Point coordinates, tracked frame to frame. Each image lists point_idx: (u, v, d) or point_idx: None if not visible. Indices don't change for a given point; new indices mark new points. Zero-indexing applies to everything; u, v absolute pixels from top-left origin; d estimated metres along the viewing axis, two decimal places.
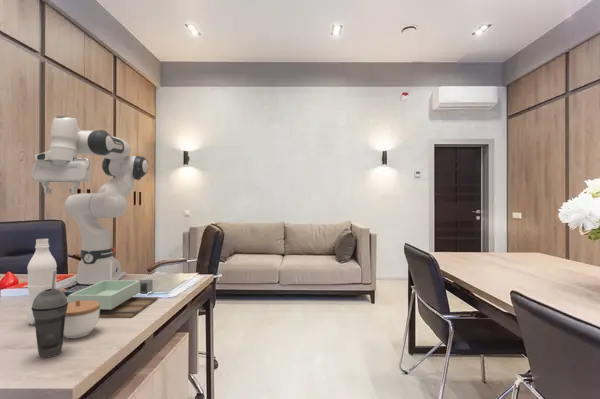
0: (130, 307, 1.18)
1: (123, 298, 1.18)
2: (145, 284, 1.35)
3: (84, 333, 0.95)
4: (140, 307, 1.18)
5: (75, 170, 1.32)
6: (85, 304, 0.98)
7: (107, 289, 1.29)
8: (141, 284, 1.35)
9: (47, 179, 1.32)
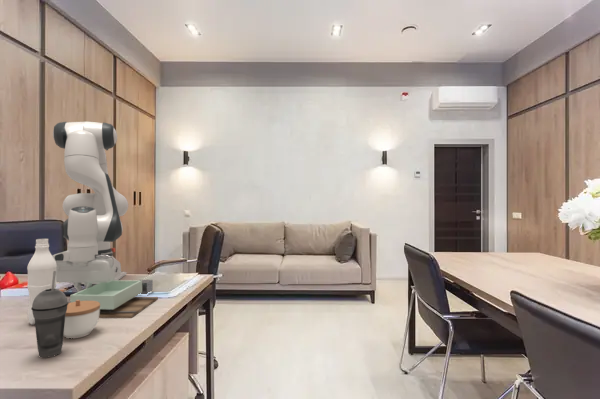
0: (130, 307, 1.18)
1: (125, 298, 1.18)
2: (145, 284, 1.35)
3: (84, 333, 0.95)
4: (140, 307, 1.18)
5: (99, 271, 1.18)
6: (85, 304, 0.98)
7: (109, 289, 1.29)
8: None
9: (68, 281, 1.18)
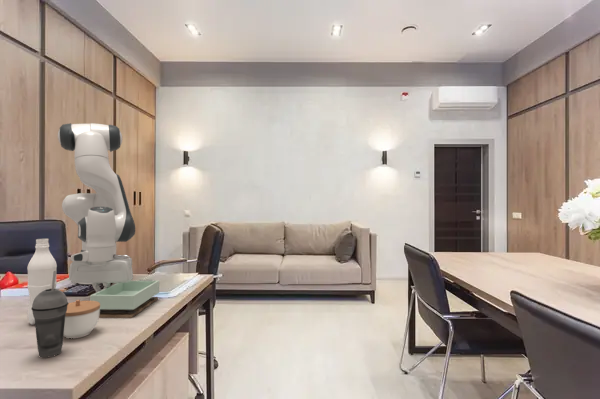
0: None
1: (144, 298, 1.18)
2: None
3: (84, 333, 0.95)
4: (140, 307, 1.18)
5: (117, 271, 1.18)
6: (85, 304, 0.98)
7: (126, 289, 1.29)
8: None
9: (86, 281, 1.18)
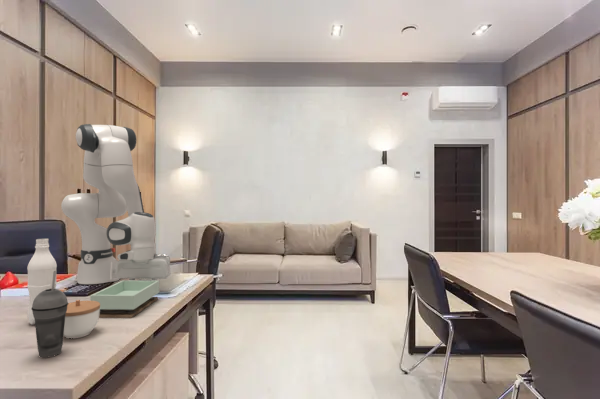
0: None
1: (144, 298, 1.18)
2: None
3: (84, 333, 0.95)
4: (140, 307, 1.18)
5: (158, 268, 1.35)
6: (85, 304, 0.98)
7: (126, 289, 1.29)
8: None
9: (131, 277, 1.35)
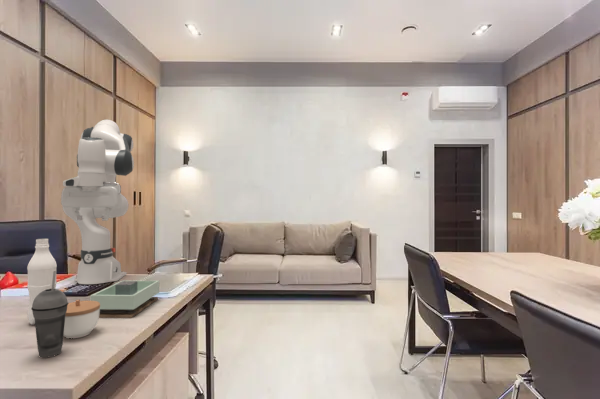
0: None
1: (144, 298, 1.18)
2: (128, 286, 1.18)
3: (84, 333, 0.95)
4: (140, 307, 1.18)
5: (107, 196, 1.25)
6: (85, 304, 0.98)
7: None
8: (124, 286, 1.18)
9: (78, 206, 1.25)
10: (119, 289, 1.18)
